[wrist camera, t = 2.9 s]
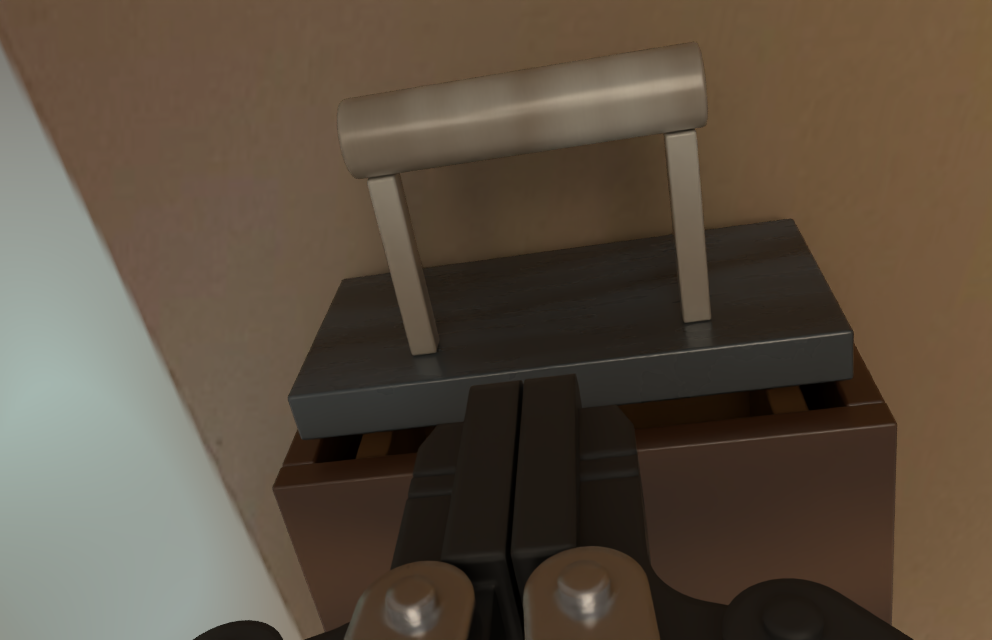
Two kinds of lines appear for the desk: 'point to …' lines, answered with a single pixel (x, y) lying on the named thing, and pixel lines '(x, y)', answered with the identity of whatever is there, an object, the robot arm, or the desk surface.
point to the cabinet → (658, 503)
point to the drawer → (564, 272)
